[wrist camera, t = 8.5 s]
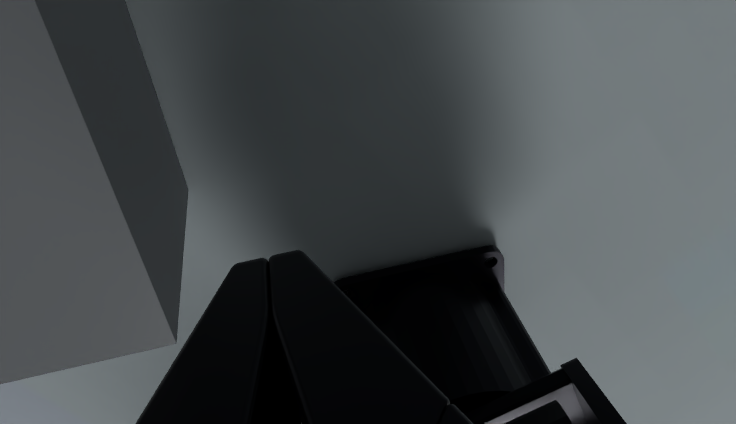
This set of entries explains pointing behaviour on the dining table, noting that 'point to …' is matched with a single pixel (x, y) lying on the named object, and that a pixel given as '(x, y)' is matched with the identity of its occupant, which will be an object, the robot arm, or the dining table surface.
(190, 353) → the robot arm
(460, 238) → the dining table surface
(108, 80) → the camera housing
